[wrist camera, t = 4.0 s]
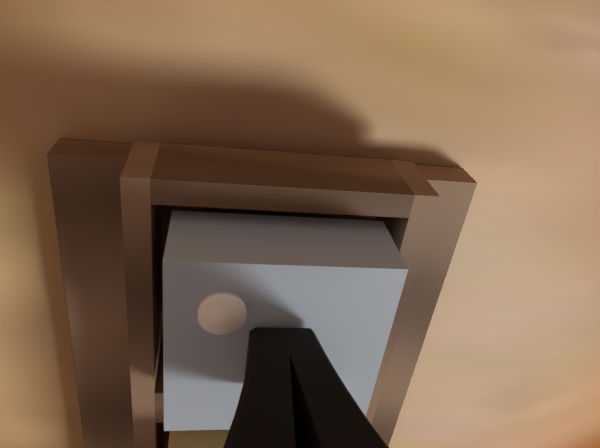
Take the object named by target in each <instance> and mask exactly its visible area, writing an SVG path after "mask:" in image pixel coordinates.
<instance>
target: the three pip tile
mask: <svg viewBox="0 0 600 448" xmlns="http://www.w3.org/2000/svg"><path fill="white" fill-rule="evenodd" d="M407 273H408V268H407V266H406V264H405V262H404V260H403V258H402V256H401V254H400V252H399V250H398V248H397V247H396V245H395V243H394V241H393V239H392V237H391V235H390V233H389V231H388V229H387V228H386V226H385V224H384V222H383V221H371V220H352V219H332V218H312V217H293V216H273V215H254V214H234V213H215V212H195V211H175V210H172V213H171V219H170V224H169V230H168V235H167V240H166V246H165V251H164V256H163V378H164V431H188V430H230V427H231V424H232V421H233V418H234V415H235V412H236V409H237V406H238V402H239V398H240V394H241V391H242V387H243V383H244V378H245V368H246V359H247V349H248V340H249V331H251V330H252V329H254V328H255V327H260V328H311V329H312V330H313V331H314V333H315V335H316V337H317V338H318V340H319V342H320V344H321V346H322V348H323V350H324V351H325V353H326V355H327V357H328V358H329V360H330V362H331V364H332V365H333V367H334V369H335V370H336V372H337V374H338V375H339V377H340V378H341V380H342V382H343V383H344V385H345V386H346V388H347V389H348V391H349V392H350V394H351V395H352V397H353V398H354V400H355V401H356V403H357V404H358V406H359V407H360V409H361V410H362V412H363V413H364V415H365V416H366V414H367V411H368V407H369V404H370V400H371V397H372V393H373V390H374V386H375V383H376V380H377V376H378V373H379V369H380V366H381V362H382V359H383V355H384V352H385V349H386V345H387V342H388V338H389V335H390V331H391V328H392V324H393V321H394V317H395V314H396V311H397V307H398V304H399V300H400V297H401V293H402V290H403V286H404V283H405V279H406V276H407Z"/></svg>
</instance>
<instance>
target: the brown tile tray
mask: <svg viewBox="0 0 600 448" xmlns="http://www.w3.org/2000/svg"><path fill="white" fill-rule="evenodd" d="M47 155H48V163H49V170H50V178H51V186H52V194H53V201H54V209H55V217H56V225H57V233H58V240H59V248H60V256H61V264H62V271H63V279H64V287H65V295H66V303H67V310H68V318H69V326H70V334H71V341H72V349H73V357H74V365H75V373H76V380H77V388H78V396H79V404H80V411H81V419H82V427H83V435H84V443H85V448H168V442H169V433H170V431H164V378H163V256H164V251H165V246H166V240H167V235H168V230H169V224H170V219H171V213H172V210H175V211H195V212H215V213H234V214H254V215H273V216H293V217H312V218H332V219H352V220H371V221H383V222H384V224H385V226H386V228H387V229H388V231H389V233H390V235H391V237H392V239H393V241H394V243H395V245H396V247H397V248H398V250H399V252H400V254H401V256H402V258H403V260H404V262H405V264H406V266H407V268H408V273H407V276H406V279H405V283H404V286H403V290H402V293H401V297H400V300H399V304H398V307H397V311H396V314H395V317H394V321H393V324H392V328H391V331H390V335H389V338H388V342H387V345H386V349H385V352H384V355H383V359H382V362H381V366H380V369H379V373H378V376H377V380H376V383H375V386H374V390H373V393H372V397H371V400H370V404H369V407H368V411H367V414H366V418H367V419H368V420H369V422H370V423H371V425H372V426H373V427H374V429H375V430H376V431H377V433H378V434H379V435H380V437H381V438H382V439H383V441H384V442H385V443H386V445H387V446H388V445H389V442H390V439H391V436H392V434H393V431H394V428H395V425H396V422H397V419H398V416H399V413H400V410H401V407H402V404H403V401H404V398H405V395H406V392H407V389H408V386H409V383H410V380H411V377H412V374H413V371H414V368H415V365H416V362H417V359H418V356H419V353H420V351H421V348H422V345H423V342H424V339H425V336H426V333H427V330H428V327H429V324H430V321H431V318H432V315H433V312H434V309H435V306H436V303H437V300H438V297H439V294H440V291H441V288H442V285H443V282H444V279H445V276H446V273H447V270H448V268H449V265H450V262H451V259H452V256H453V253H454V250H455V247H456V244H457V241H458V238H459V235H460V232H461V229H462V226H463V223H464V220H465V217H466V214H467V211H468V208H469V205H470V202H471V199H472V196H473V193H474V190H475V188H476V185H477V183H476V182H475V180H474V179H473V178H472V177H471V176H470V175H469V174H468V173H467V172H466V171H465V170H464V169H463V168H457V167H443V166H429V165H415V164H414V163H413V161H403V160H389V159H375V158H362V157H348V156H334V155H321V154H307V153H294V152H280V151H266V150H253V149H239V148H225V147H212V146H198V145H185V144H171V143H157V142H144V141H135V142H134V144H125V143H111V142H97V141H83V140H70V139H59V140H58V141H57V142H56V144H55V145H54V146H53V148H52V149H51V150H50V152H49V153H48V154H47Z"/></svg>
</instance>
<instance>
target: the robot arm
mask: <svg viewBox="0 0 600 448" xmlns="http://www.w3.org/2000/svg"><path fill="white" fill-rule="evenodd" d="M223 448H389V447H388V446H387V445H386V443H385V442H384V441H383V439H382V438H381V437H380V435H379V434H378V433H377V431H376V430H375V429H374V427H373V426H372V425H371V423H370V422H369V420H368V419H367V418H366V416H365V415H364V413H363V412H362V410H361V409H360V407H359V406H358V404H357V403H356V401H355V400H354V398H353V397H352V395H351V394H350V392H349V391H348V389H347V388H346V386H345V385H344V383H343V382H342V380H341V378H340V377H339V375H338V374H337V372H336V370H335V369H334V367H333V365H332V364H331V362H330V360H329V358H328V357H327V355H326V353H325V351H324V350H323V348H322V346H321V344H320V342H319V340H318V338H317V337H316V335H315V333H314V331H313V330H312V329H311V328H260V327H255V328H254V329H252V330H251V331H249V340H248V349H247V359H246V368H245V378H244V383H243V387H242V391H241V394H240V398H239V402H238V406H237V409H236V412H235V415H234V418H233V421H232V424H231V427H230V430H229V432H228V435H227V438H226V441H225V444H224V447H223Z"/></svg>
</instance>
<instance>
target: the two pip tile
mask: <svg viewBox="0 0 600 448" xmlns="http://www.w3.org/2000/svg"><path fill="white" fill-rule="evenodd" d="M228 432H229V430H188V431H170V433H169V442H168V448H223V447H224V444H225V441H226V438H227V435H228Z"/></svg>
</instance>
